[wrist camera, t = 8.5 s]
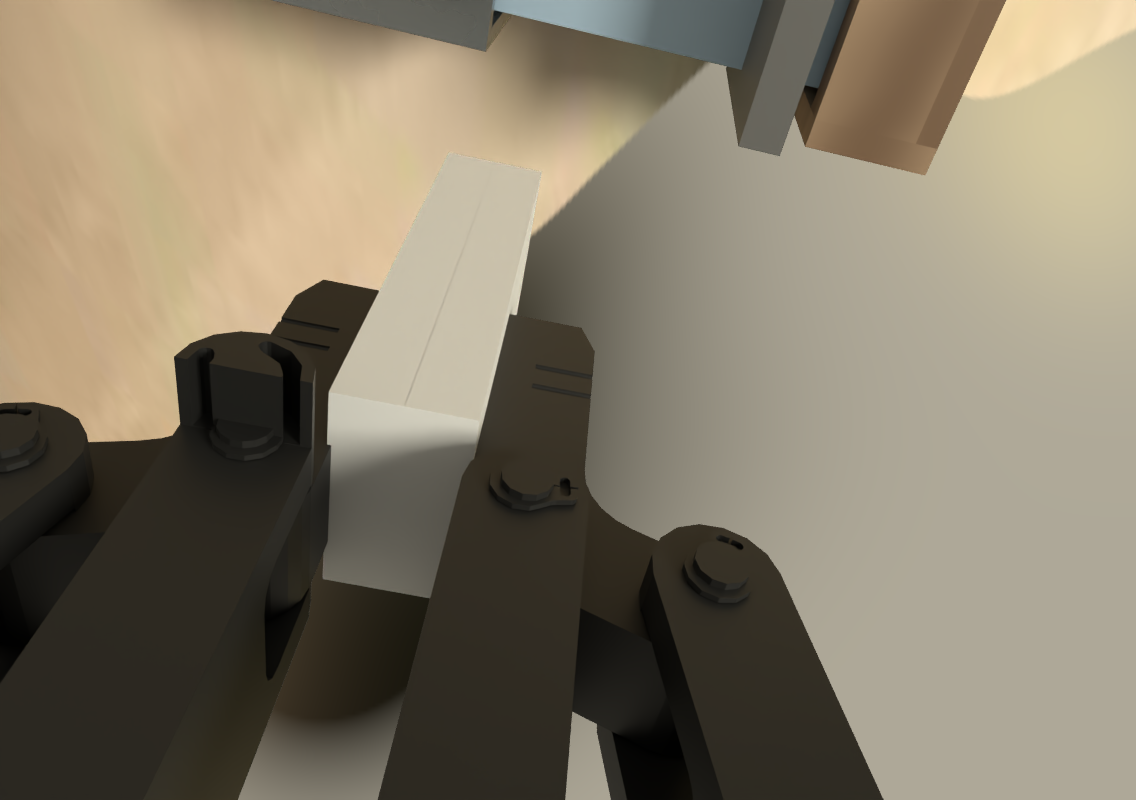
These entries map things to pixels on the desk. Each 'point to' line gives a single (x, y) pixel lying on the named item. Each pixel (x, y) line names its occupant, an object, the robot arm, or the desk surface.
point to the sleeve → (422, 17)
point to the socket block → (895, 79)
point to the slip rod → (720, 46)
